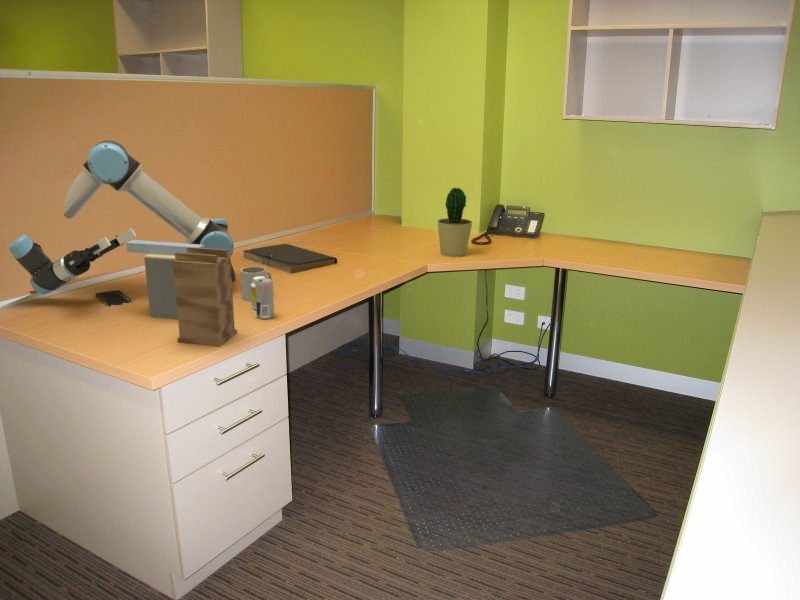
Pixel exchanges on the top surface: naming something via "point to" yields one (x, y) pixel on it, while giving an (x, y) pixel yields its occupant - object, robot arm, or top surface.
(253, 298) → the supplement bottle
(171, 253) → the batten
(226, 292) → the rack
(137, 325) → the top surface
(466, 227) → the potted cactus
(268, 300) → the energy drink
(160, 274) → the block
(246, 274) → the mug
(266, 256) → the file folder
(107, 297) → the phone
